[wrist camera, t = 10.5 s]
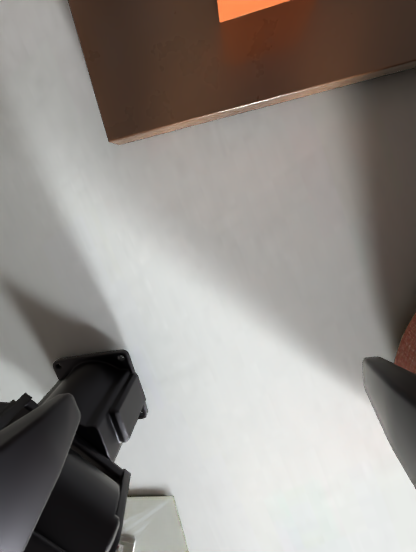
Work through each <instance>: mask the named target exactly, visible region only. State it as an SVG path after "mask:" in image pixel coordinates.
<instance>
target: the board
mask: <svg viewBox="0 0 416 552" xmlns="http://www.w3.org/2000/svg"><path fill="white" fill-rule="evenodd" d="M68 3H69V6H70V9H71V13H72V16H73V20H74V23H75V27H76V30H77V34H78V37H79V41H80V44H81V48H82V51H83V55H84V58H85V61H86V65H87V68H88V72H89V75H90V79H91V82H92V86H93V89H94V93H95V96H96V100H97V103H98V107H99V110H100V114H101V117H102V120H103V124H104V127H105V131H106V134H107V138H108V141H109V142H111V143H114V144H117V145H121V144H125V143H129V142H133V141H136V140H140V139H144V138H148V137H152V136H155V135H159V134H163V133H167V132H171V131H175V130H178V129H182V128H186V127H190V126H194V125H197V124H201V123H205V122H209V121H213V120H217V119H220V118H224V117H228V116H232V115H236V114H239V113H243V112H247V111H251V110H255V109H259V108H262V107H266V106H270V105H274V104H278V103H281V102H285V101H289V100H293V99H297V98H300V97H304V96H308V95H312V94H316V93H320V92H323V91H327V90H331V89H335V88H339V87H342V86H346V85H350V84H354V83H358V82H362V81H365V80H369V79H373V78H377V77H381V76H384V75H388V74H392V73H396V72H400V71H404V70H407V69H411V68H415V67H416V0H290V1H287V2H283V3H280V4H277V5H274V6H271V7H268V8H265V9H261V10H258V11H255V12H252V13H249V14H246V15H242V16H239V17H236V18H233V19H230V20H227V21H224V22H219V17H218V12H217V6H216V0H68Z"/></svg>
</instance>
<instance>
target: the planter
mask: <svg viewBox="0 0 416 552" xmlns="http://www.w3.org/2000/svg"><path fill="white" fill-rule="evenodd" d="M394 364H396V365H398V366H400V367H402V368H404V369H406V370H408V371H410V372H412V373H414V374H416V312H415V313H414V315H413V317H412V318H411V320H410V322H409V323H408V325H407V327H406V329H405V331H404V334H403V336H402V338H401V341H400V344H399V346H398V350H397V353H396V357H395V361H394Z"/></svg>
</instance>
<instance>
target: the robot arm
mask: <svg viewBox="0 0 416 552" xmlns="http://www.w3.org/2000/svg"><path fill="white" fill-rule="evenodd" d="M120 355H122V356H124V358H122V357H121V356H120ZM59 364H60V365H61V366H60V365H59ZM362 365H363V381H364V387H365V390H366V393H367V395H368V397H369V399H370V402H371V404H372V406H373V408H374V410H375V413H376V415H377V417H378V419H379V421H380V424H381V426H382V428H383V430H384V432H385V435H386V437H387V439H388V441H389V443H390V445H391V447H392V449H393V451H394V453H395V454H396V456H397V458H398V460H399V461H400V463H401V465H402V466H403V468H404V470H405V472H406V473H407V475H408V477H409V478H410V480H411V482H412V483H413V485H414V487H415V489H416V374H414V373H412V372H410V371H408V370H406V369H404V368H402V367H400V366H398V365H396V364H394V363H392V362H390V361H388V360H385V359H383V358H381V357H378V356H377V357H368V358H364V359H363V362H362ZM53 368H54V370H55V372H56V375H57V377H58V379H59V381H58V382H57V383H56V384H55V385H54V387H53V388H52V389H51V390H50V391H49V392H48V393H47V394H46V395H45V396H44V398H43V399H42V400H41V401H40V402H39V403H38V404H37V403H35V402H34V401H33V400H31V398H32V397H30V396H29V395H28V394H27V393H24V394H23V395H22V396H21V397H20V398H19V399H18V400H17V401H15V400H12V401H11V402H10V403H7V402H0V552H116V550H117V547H118V544H119V541H120V537H121V532H122V527H123V520H124V514H125V508H126V501H127V495H128V488H129V482H130V476H131V473H129V472H128V471H127V470H126V469H121V468H120V467H119V466H118V465H116V464H115V463H114V461H115V459H116V456H117V454H118V452H119V450H120V447H121V445H122V443H123V442H127V441H128V440H129V438H130V436H131V434H132V431H133V429H134V426H135V424H136V422H137V419H143V418H145V417H146V415H147V413H148V409H147V406H146V403H145V400H146V398H145V395H144V392H143V389H142V386H141V383H140V380H139V377H138V375H137V374H136V373H135V370H134V367H133V364H132V361H131V358H130V355H129V353H128V352H127V351H126V350H116V351H109V352H102V353H95V354H88V355H81V356H73V357H66V358H59V359H57V360H56V361H55V362H54V363H53ZM141 412H143V413H141Z"/></svg>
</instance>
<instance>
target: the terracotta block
mask: <svg viewBox="0 0 416 552" xmlns="http://www.w3.org/2000/svg"><path fill="white" fill-rule="evenodd" d="M287 1H290V0H216V6H217V12H218V17H219V22H224V21H227V20H230V19H233V18H236V17H239V16H242V15H246V14H249V13H252V12H255V11H258V10H261V9H265V8H268V7H271V6H274V5H277V4H280V3H283V2H287Z"/></svg>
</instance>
